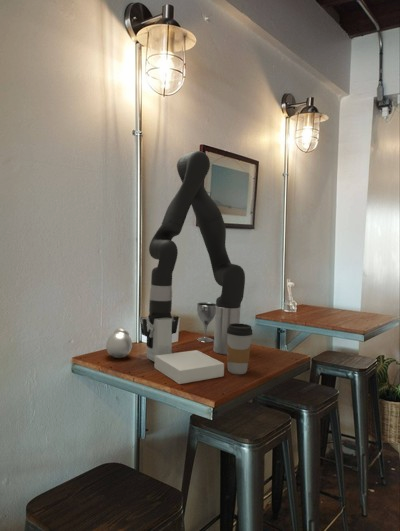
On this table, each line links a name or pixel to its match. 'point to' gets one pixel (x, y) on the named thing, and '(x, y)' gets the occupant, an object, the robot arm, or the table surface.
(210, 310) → the wine glass
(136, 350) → the table surface
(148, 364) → the table surface
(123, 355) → the silver egg shape
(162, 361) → the block
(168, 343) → the skincare box
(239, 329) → the coffee cup
